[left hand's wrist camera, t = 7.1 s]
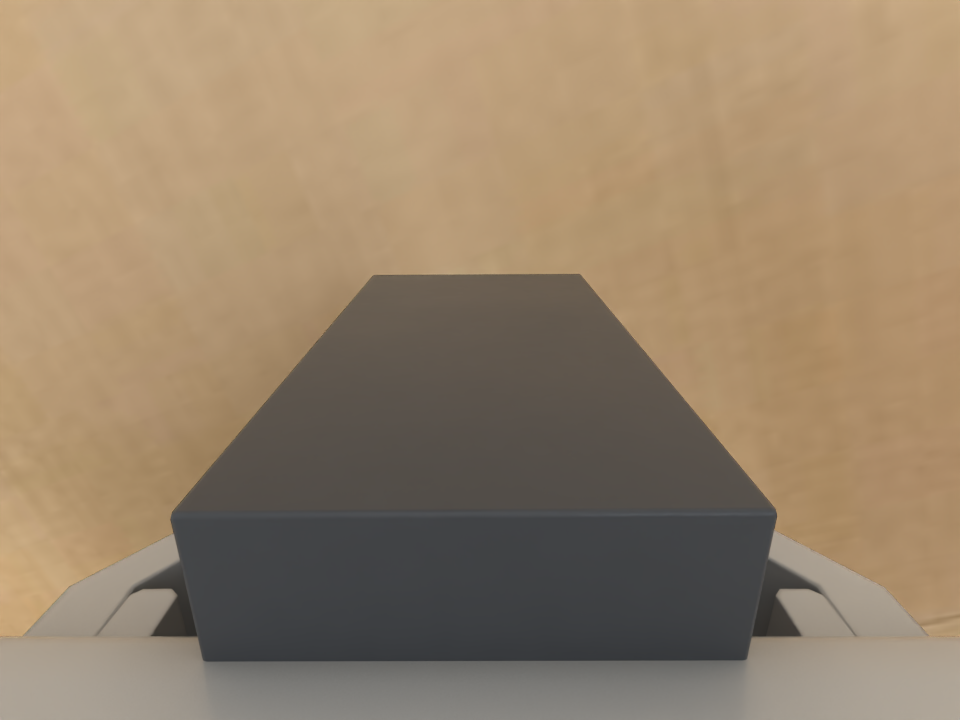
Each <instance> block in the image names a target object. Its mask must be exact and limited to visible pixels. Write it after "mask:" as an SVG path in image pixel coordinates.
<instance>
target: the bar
mask: <svg viewBox="0 0 960 720" xmlns="http://www.w3.org/2000/svg"><path fill="white" fill-rule="evenodd" d="M776 519H777V513H776V509H775V508H774V507H773V505H772V504H771V503H770V502H769V501H768V499H767V498H766V497H765V496H764V495H763V493H762V492H761V491H760V490H759V489H758V487H757V486H756V485H755V484H754V483H753V481H752V480H751V479H750V478H749V477H748V475H747V474H746V473H745V472H744V471H743V469H742V468H741V467H740V466H739V465H738V463H737V462H736V461H735V460H734V458H733V457H732V456H731V455H730V454H729V452H728V451H727V450H726V449H725V448H724V446H723V445H722V444H721V443H720V442H719V440H718V439H717V438H716V437H715V436H714V434H713V433H712V432H711V431H710V430H709V428H708V427H707V426H706V425H705V424H704V422H703V421H702V420H701V419H700V418H699V416H698V415H697V414H696V413H695V412H694V410H693V409H692V408H691V407H690V406H689V404H688V403H687V402H686V401H685V400H684V398H683V397H682V396H681V395H680V394H679V392H678V391H677V390H676V389H675V388H674V386H673V385H672V384H671V383H670V382H669V380H668V379H667V378H666V377H665V376H664V374H663V373H662V372H661V371H660V370H659V368H658V367H657V366H656V365H655V364H654V362H653V361H652V360H651V359H650V358H649V356H648V355H647V354H646V353H645V352H644V350H643V349H642V348H641V347H640V346H639V344H638V343H637V342H636V341H635V340H634V338H633V337H632V336H631V335H630V334H629V332H628V331H627V330H626V329H625V328H624V326H623V325H622V324H621V323H620V322H619V320H618V319H617V318H616V317H615V316H614V314H613V313H612V312H611V311H610V310H609V308H608V307H607V306H606V305H605V304H604V302H603V301H602V300H601V299H600V298H599V296H598V295H597V294H596V293H595V292H594V290H593V289H592V288H591V287H590V286H589V284H588V283H587V282H586V281H585V280H584V278H583V277H582V276H581V275H580V274H506V275H374V276H372V277H371V279H370V280H369V281H368V282H367V283H366V284H365V286H364V287H363V288H362V289H361V290H360V292H359V293H358V294H357V295H356V296H355V297H354V299H353V300H352V301H351V302H350V303H349V305H348V306H347V307H346V308H345V309H344V310H343V312H342V313H341V314H340V315H339V316H338V317H337V319H336V320H335V321H334V322H333V323H332V325H331V326H330V327H329V328H328V329H327V330H326V332H325V333H324V334H323V335H322V336H321V337H320V339H319V340H318V341H317V342H316V343H315V345H314V346H313V347H312V348H311V349H310V350H309V352H308V353H307V354H306V355H305V356H304V358H303V359H302V360H301V361H300V362H299V363H298V365H297V366H296V367H295V368H294V369H293V370H292V372H291V373H290V374H289V375H288V376H287V378H286V379H285V380H284V381H283V382H282V383H281V385H280V386H279V387H278V388H277V389H276V390H275V392H274V393H273V394H272V395H271V396H270V398H269V399H268V400H267V401H266V402H265V403H264V405H263V406H262V407H261V408H260V409H259V411H258V412H257V413H256V414H255V415H254V416H253V418H252V419H251V420H250V421H249V422H248V423H247V425H246V426H245V427H244V428H243V429H242V431H241V432H240V433H239V434H238V435H237V436H236V438H235V439H234V440H233V441H232V442H231V443H230V445H229V446H228V447H227V448H226V449H225V451H224V452H223V453H222V454H221V455H220V456H219V458H218V459H217V460H216V461H215V462H214V464H213V465H212V466H211V467H210V468H209V469H208V471H207V472H206V473H205V474H204V475H203V476H202V478H201V479H200V480H199V481H198V482H197V484H196V485H195V486H194V487H193V488H192V489H191V491H190V492H189V493H188V494H187V495H186V496H185V498H184V499H183V500H182V501H181V502H180V504H179V505H178V506H177V507H176V508H175V509H174V511H173V512H172V515H171V524H172V528H173V532H174V537H175V541H176V545H177V550H178V554H179V558H180V563H181V567H182V572H183V576H184V580H185V585H186V589H187V593H188V598H189V602H190V606H191V611H192V615H193V619H194V624H195V628H196V632H197V637H198V641H199V646H200V650H201V654H202V659H203V660H204V661H206V662H243V661H697V660H746V659H747V657H748V652H749V647H750V643H751V638H752V633H753V628H754V624H755V619H756V614H757V609H758V605H759V600H760V595H761V590H762V585H763V581H764V576H765V571H766V566H767V562H768V557H769V552H770V547H771V543H772V538H773V533H774V528H775V523H776Z"/></svg>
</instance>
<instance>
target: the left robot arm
mask: <svg viewBox="0 0 960 720" xmlns="http://www.w3.org/2000/svg"><path fill="white" fill-rule="evenodd" d="M0 720H960V636H929V635H928V634H927V633H926V632H925V631H924V630H923V629H922V627H921V626H920V625H919V624H918V623H917V622H916V621H915V620H914V619H913V618H912V617H911V615H910V614H909V613H908V612H907V611H906V610H905V609H904V608H903V607H902V606H901V605H900V604H899V602H898V601H897V600H896V599H895V598H894V597H893V596H892V595H891V594H890V593H889V592H888V590H887V589H886V588H885V587H883V586H881V585H879V584H877V583H875V582H873V581H871V580H869V579H868V578H866V577H864V576H862V575H860V574H858V573H856V572H854V571H852V570H850V569H848V568H846V567H844V566H842V565H841V564H839V563H837V562H835V561H833V560H831V559H829V558H827V557H825V556H823V555H821V554H819V553H817V552H816V551H814V550H812V549H810V548H808V547H806V546H804V545H802V544H800V543H798V542H796V541H794V540H792V539H790V538H789V537H787V536H785V535H783V534H781V533H779V532H777V531H775V530H774V533H773V538H772V543H771V547H770V552H769V557H768V562H767V566H766V571H765V576H764V581H763V585H762V590H761V595H760V600H759V605H758V609H757V614H756V619H755V624H754V628H753V633H752V638H751V643H750V647H749V652H748V657H747V659H746V660H697V661H243V662H206V661H204V660H203V659H202V654H201V650H200V646H199V641H198V637H197V632H196V628H195V624H194V619H193V615H192V611H191V606H190V602H189V598H188V593H187V589H186V585H185V580H184V576H183V572H182V567H181V563H180V558H179V554H178V550H177V545H176V541H175V537H174V533H173V534H171V535H169V536H167V537H165V538H163V539H161V540H159V541H157V542H155V543H153V544H151V545H149V546H147V547H146V548H144V549H142V550H140V551H138V552H136V553H134V554H132V555H130V556H128V557H126V558H124V559H122V560H120V561H118V562H116V563H114V564H112V565H110V566H108V567H106V568H105V569H103V570H101V571H99V572H97V573H95V574H93V575H91V576H89V577H87V578H85V579H83V580H81V581H79V582H77V583H75V584H73V585H71V586H69V587H68V589H67V590H66V591H65V592H64V593H63V594H62V595H61V596H60V597H59V598H58V599H57V600H56V601H55V602H54V603H53V604H52V605H51V607H50V608H49V609H48V610H47V611H46V612H45V613H44V614H43V615H42V616H41V617H40V618H39V619H38V620H37V621H36V622H35V624H34V625H33V626H32V627H31V628H30V629H29V630H28V631H27V632H26V633H25V634H24V635H23V636H0Z"/></svg>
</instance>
